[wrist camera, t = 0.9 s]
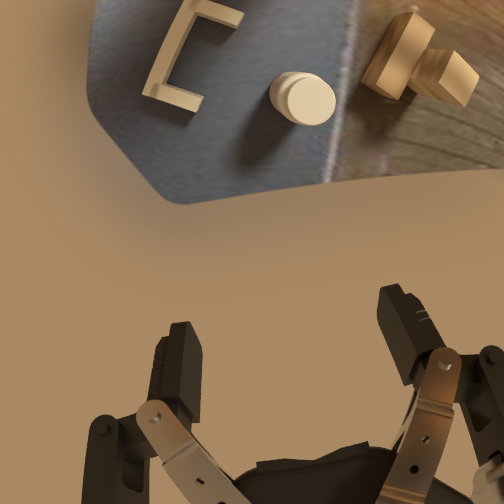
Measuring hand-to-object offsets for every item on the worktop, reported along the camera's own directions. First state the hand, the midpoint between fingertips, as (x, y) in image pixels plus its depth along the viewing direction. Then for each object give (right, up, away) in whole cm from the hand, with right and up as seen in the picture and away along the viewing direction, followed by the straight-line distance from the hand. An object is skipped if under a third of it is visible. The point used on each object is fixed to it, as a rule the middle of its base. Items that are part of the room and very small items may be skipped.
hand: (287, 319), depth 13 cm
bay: (-7, +23, +13) cm, 27 cm away
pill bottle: (+3, +19, +17) cm, 25 cm away
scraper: (+15, +24, +14) cm, 32 cm away
